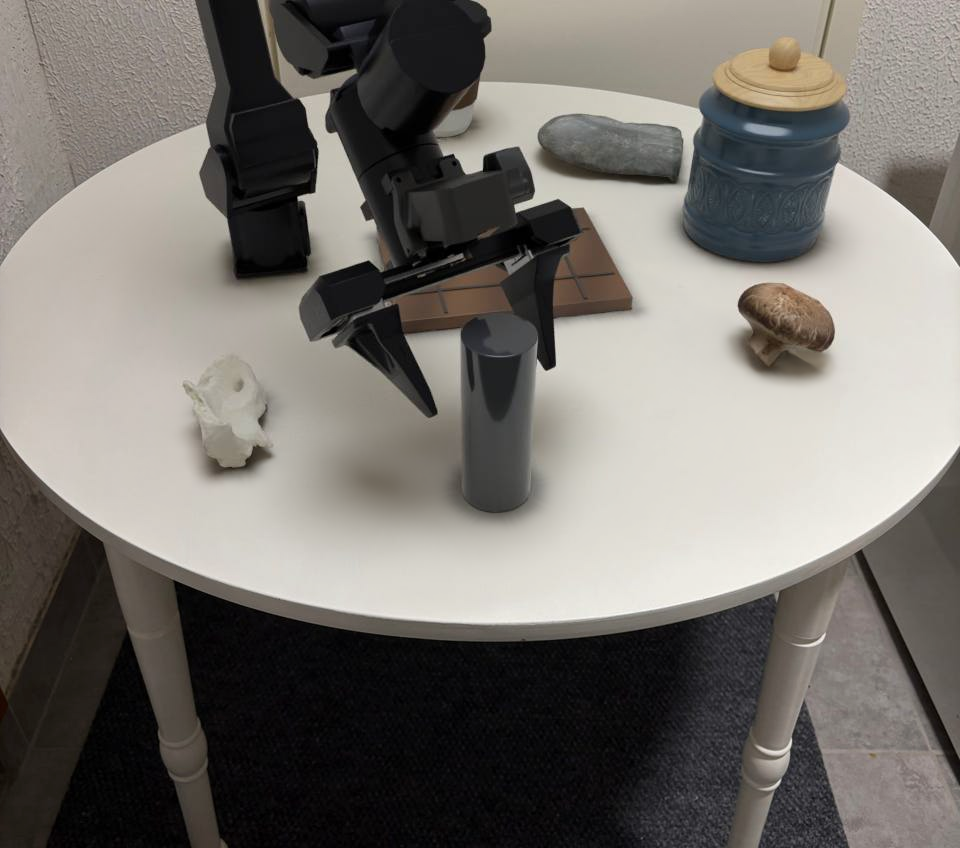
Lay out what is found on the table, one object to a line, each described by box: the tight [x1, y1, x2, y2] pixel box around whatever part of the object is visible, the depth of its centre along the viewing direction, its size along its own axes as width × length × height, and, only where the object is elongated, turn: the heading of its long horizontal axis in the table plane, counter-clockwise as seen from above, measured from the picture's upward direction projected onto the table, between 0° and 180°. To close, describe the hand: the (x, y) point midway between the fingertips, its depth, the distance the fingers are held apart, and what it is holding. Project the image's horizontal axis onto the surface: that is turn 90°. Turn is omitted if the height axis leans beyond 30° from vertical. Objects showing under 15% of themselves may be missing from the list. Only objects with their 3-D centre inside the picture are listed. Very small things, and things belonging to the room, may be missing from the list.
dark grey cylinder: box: [459, 313, 538, 513], centre depth 69 cm, size 5×5×13 cm
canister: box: [682, 36, 851, 263], centre depth 93 cm, size 13×13×18 cm
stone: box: [537, 113, 685, 181], centre depth 109 cm, size 11×4×15 cm
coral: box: [182, 352, 274, 469], centre depth 76 cm, size 6×10×4 cm, turn 18°
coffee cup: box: [433, 0, 493, 138], centre depth 112 cm, size 11×11×12 cm
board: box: [375, 207, 634, 334], centre depth 93 cm, size 20×16×1 cm
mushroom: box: [737, 282, 836, 367], centre depth 84 cm, size 8×8×6 cm
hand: (493, 392), depth 68 cm, fingers open, 9 cm apart
